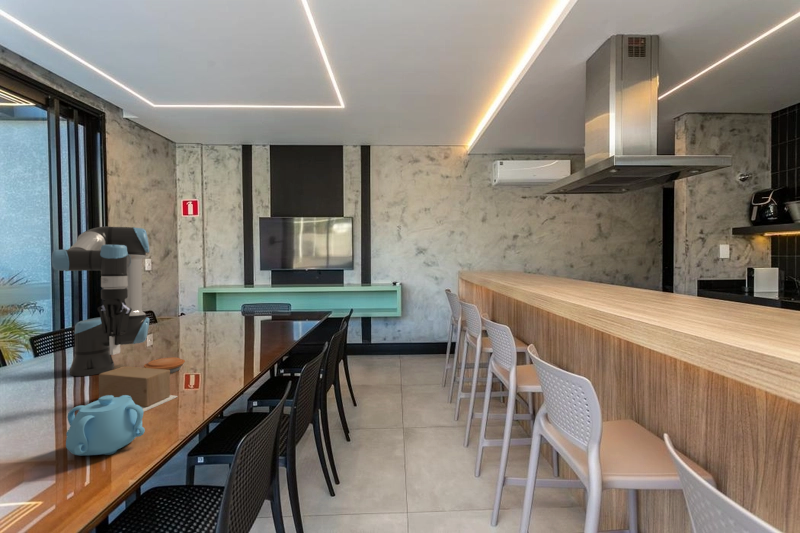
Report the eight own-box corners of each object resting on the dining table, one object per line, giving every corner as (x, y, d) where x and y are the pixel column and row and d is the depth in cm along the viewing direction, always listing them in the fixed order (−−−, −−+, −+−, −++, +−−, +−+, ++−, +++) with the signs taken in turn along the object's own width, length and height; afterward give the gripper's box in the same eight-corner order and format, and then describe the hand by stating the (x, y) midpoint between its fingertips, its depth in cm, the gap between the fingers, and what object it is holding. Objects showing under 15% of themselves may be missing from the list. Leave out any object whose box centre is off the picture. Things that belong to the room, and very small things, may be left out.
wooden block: (98, 402, 128) (146, 407, 124) (97, 373, 128) (146, 378, 124) (124, 392, 138) (170, 396, 134) (124, 365, 138) (170, 369, 134)
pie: (192, 367, 171) (192, 356, 171) (166, 377, 156) (166, 366, 156) (163, 365, 174) (163, 354, 174) (134, 375, 159) (134, 363, 159)
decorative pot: (147, 448, 99) (147, 398, 99) (66, 471, 88) (66, 414, 88) (138, 427, 111) (138, 382, 111) (66, 445, 100) (66, 395, 100)
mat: (136, 391, 139) (136, 390, 139) (177, 397, 135) (177, 395, 135) (94, 407, 125) (94, 406, 125) (139, 413, 120) (139, 412, 120)
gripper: (89, 288, 129) (90, 355, 130) (118, 289, 126) (118, 357, 127) (110, 286, 136) (111, 349, 137) (138, 287, 133) (139, 352, 134)
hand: (115, 353), depth 132 cm, fingers closed
